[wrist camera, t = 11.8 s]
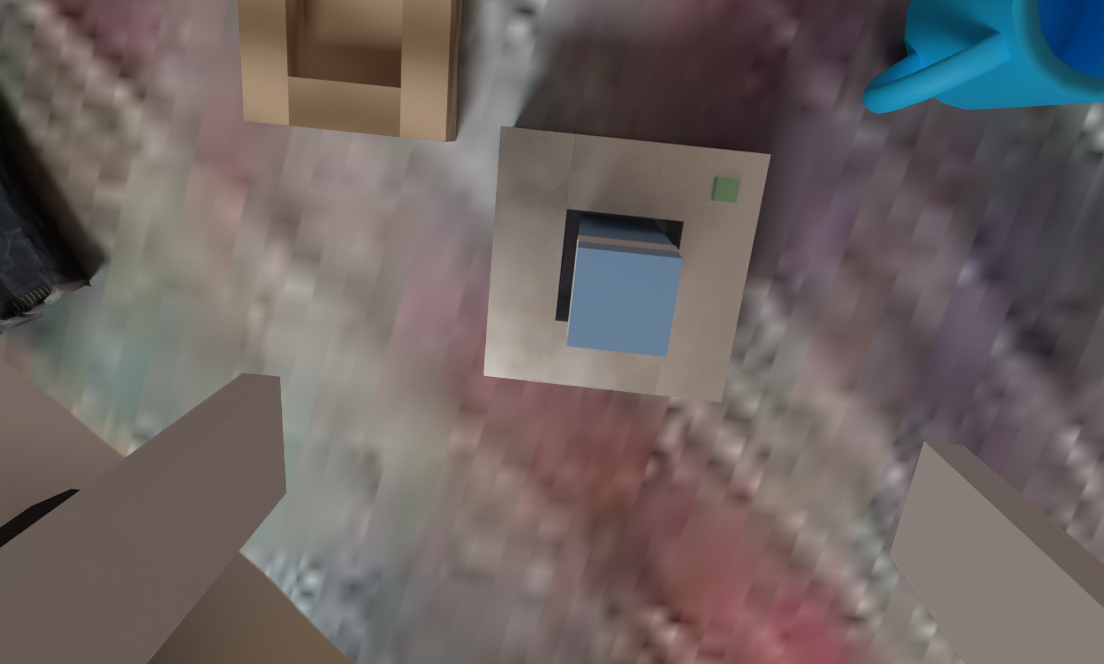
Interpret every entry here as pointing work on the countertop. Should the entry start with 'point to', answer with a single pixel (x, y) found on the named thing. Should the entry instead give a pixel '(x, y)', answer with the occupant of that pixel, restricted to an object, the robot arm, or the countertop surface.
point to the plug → (623, 286)
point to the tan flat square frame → (353, 65)
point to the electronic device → (29, 252)
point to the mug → (996, 55)
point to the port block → (631, 193)
